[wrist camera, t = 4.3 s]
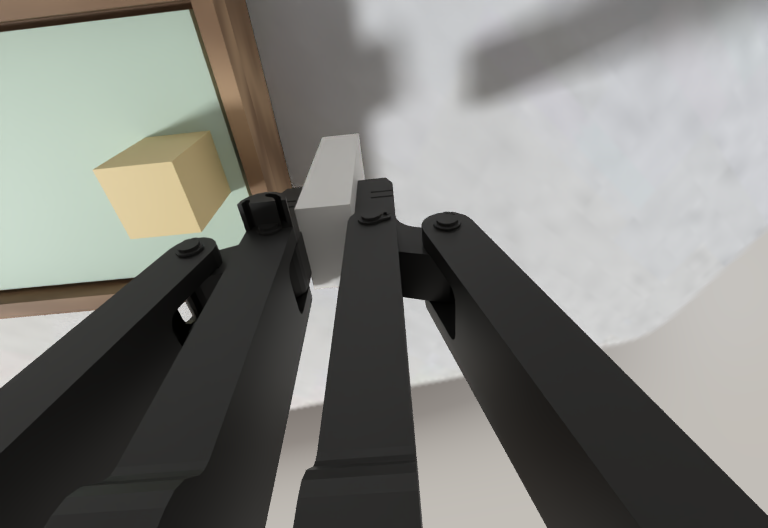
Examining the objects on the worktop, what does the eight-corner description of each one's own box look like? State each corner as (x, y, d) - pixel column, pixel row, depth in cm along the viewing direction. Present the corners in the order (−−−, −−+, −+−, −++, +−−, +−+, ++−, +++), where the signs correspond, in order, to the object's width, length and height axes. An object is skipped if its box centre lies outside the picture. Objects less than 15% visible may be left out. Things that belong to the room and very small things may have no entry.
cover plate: (-214, 58, 16) (-404, 78, 12) (196, 8, 16) (135, 12, 12) (-18, 284, 23) (-99, 344, 19) (274, 256, 22) (252, 312, 18)
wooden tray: (-185, 21, 18) (-342, 28, 14) (237, -31, 17) (196, -40, 13) (15, 274, 26) (-48, 323, 22) (306, 246, 25) (294, 292, 22)
